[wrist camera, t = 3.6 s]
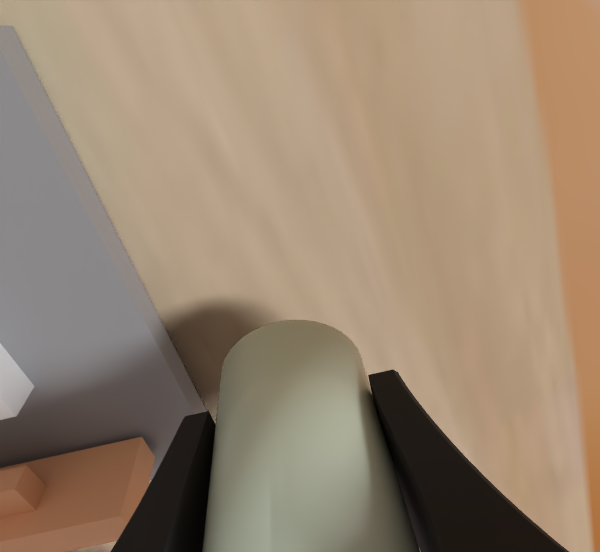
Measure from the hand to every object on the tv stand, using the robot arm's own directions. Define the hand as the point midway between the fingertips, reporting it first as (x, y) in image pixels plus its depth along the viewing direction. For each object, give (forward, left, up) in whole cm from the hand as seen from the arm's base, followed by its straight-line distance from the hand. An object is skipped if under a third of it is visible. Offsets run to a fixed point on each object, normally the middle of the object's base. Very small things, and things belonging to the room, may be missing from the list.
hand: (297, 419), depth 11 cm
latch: (-3, +12, -3) cm, 13 cm away
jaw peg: (0, 0, -2) cm, 2 cm away
